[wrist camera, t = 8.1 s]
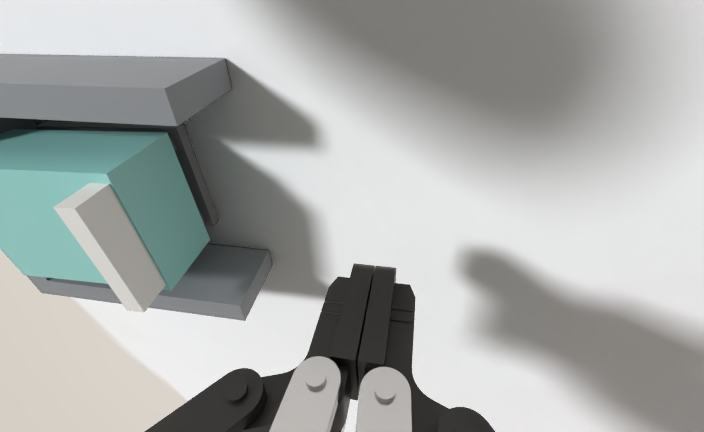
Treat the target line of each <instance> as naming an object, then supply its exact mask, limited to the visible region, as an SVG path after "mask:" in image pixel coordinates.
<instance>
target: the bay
mask: <svg viewBox="0 0 704 432" xmlns="http://www.w3.org/2000/svg"><path fill="white" fill-rule="evenodd" d="M231 89H232V87H231V83H230V78H229V74H228V70H227V65H226V61H225V58H190V57H135V56H79V55H24V54H0V134H2V133H4V132H7V131H9V130H11V129H23V130H38V129H37V127H36V126H37V124H36V122H35V121H34V119H41V120H61V121H81V122H100V123H120V124H140V125H160V126H179V125H180V124H182V123H183V122H185V121H186V120H188V119H189V118H190V117H192V116H193V115H195V114H196V113H198V112H199V111H201V110H202V109H204V108H205V107H207V106H208V105H209V104H211V103H212V102H214V101H215V100H217V99H218V98H220V97H221V96H223V95H224V94H225V93H227V92H228V91H230V90H231ZM271 267H272V261H271V257H270V252H269V250H260V249H250V248H241V247H231V246H221V245H212V244H206V246H205V247H204V248H203V250H202V251H201V252H200V254H199V255H198V256H197V258H196V259H195V260H194V262H193V263H192V264H191V266H190V267H189V268H188V270H187V271H186V272H185V274H184V275H183V276H182V278H181V279H180V280H179V282H178V283H177V284H176V285H175V287H174V288H173V289H172V291H171V290H161V292H160V293H159V294H158V295H157V297H156V298H155V299H154V301H153V302H152V303H151V304H150V306H149V308H156V309H163V310H171V311H178V312H185V313H193V314H200V315H207V316H215V317H222V318H229V319H237V320H244V321H245V320H246V318H247V316H248V314H249V312H250V310H251V308H252V306H253V303H254V301H255V299H256V297H257V295H258V293H259V291H260V289H261V287H262V285H263V283H264V281H265V279H266V277H267V275H268V273H269V271H270V269H271ZM26 276H27V277H28V278H29V279H30V280H31V281H32V283H33V284H34V285H35V286H36V287H37V288H38V289H39V290H40V292H41V293H46V294H53V295H61V296H68V297H75V298H83V299H90V300H97V301H105V302H112V303H119V304H122V303H121V301H120V300H119V298H118V297H117V296H116V294H115V293H114V291H113V290H112V289H111V287H110V286H109V284H104V283H95V282H85V281H76V280H66V279H57V278H47V277H38V276H28V275H26Z"/></svg>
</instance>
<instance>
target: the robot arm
mask: <svg viewBox="0 0 704 432" xmlns="http://www.w3.org/2000/svg"><path fill="white" fill-rule="evenodd" d="M395 281H396V268H391V267H382V266H376V267H375V266H372V265H363V264H354V265H353V268H352V272H351V276H350V278H345V277H337V279H336V280H335V281H334V282H333V283H332V284H331V285H330V287H329V289H328V292H327V295H326V298H325V302H324V304H323V308H322V312H321V314H320V317H319V320H318V323H317V326H316V330H315V333H314V336H313V339H312V342H311V345H310V349H309V352H308V354H307V356H306V358H305V359H304V361H303V362H302V363H301V364H300V365H299V366H298V367H296V368H295V369H293V370H291V371H289V372H287V373H283V374H278V375H272V376H266V377H260V375H259V374H258V373H257V372H255V371H254V370H252V369H248V368H242V369H237V370H234V371H232V372H230V373H228V374H226V375H225V376H224V377H222V378H221V379H219V380H218V381H216V382H215V383H214V384H212V385H211V386H209V387H208V388H206V389H205V390H204V391H202V392H201V393H199V394H198V395H196V396H195V397H194V398H192V399H191V400H189V401H188V402H187V403H185V404H184V405H182V406H181V407H179V408H178V409H176V410H175V411H174V412H172V413H171V414H169V415H168V416H166V417H165V418H164V419H162V420H161V421H159V422H158V423H157V424H155V425H154V426H152V427H151V428H149V429H148V430H146V431H145V432H344V429H345V424H346V418H347V413H348V408H349V402H350V399H353V400H358V396H359V402H358V412H357V423H356V432H495V431H494V430H493V428H492V427H491V426H490V424H489V423H488V422H487V421H486V420H485V418H483V417H482V416H481V415H480V414H479V413H477V412H476V411H474V410H471V409H469V408H465V407H455V408H451V409H448V408H446V407H444V406H443V405H441V404H439V403H437V402H435V401H433V400H432V399H430V398H428V397H427V396H426V395H425V394H423V393H422V392H421V390H420V389H419V388H418V387H417V385H416V383H415V381H414V379H413V375H412V351H413V332H414V312H415V296H414V293H413V291H412V289H411V287H410V285H406V284H397V283H395Z"/></svg>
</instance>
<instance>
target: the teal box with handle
mask: <svg viewBox="0 0 704 432" xmlns="http://www.w3.org/2000/svg"><path fill="white" fill-rule="evenodd" d="M36 127H37V129H38V130H23V129H11V130H9V131H7V132H4V133H2V134H0V249H1V250H2V251H3V252H4V254H5V255H6V256H7V257H8V258H9V259H10V260H11V261H12V262H13V263H14V264H15V266H16V267H17V268H18V269H19V270H20V271H21V272H22V273H23V274H24V275H28V276H38V277H47V278H57V279H66V280H76V281H85V282H95V283H104V284H109V286H110V287H111V289H112V290H113V291H114V293H115V294H116V296H117V297H118V298H119V300H120V301H121V303H122V304H123V305H124V307H125V308H126V309H127V310H129V311H138V312H145V311H146V309H147V308H148V307H149V306H150V304H151V303H152V302H153V301H154V299H155V298H156V297H157V295H158V294H159V293H160V292H161V290H171V291H172V289H173V288H174V287H175V285H176V284H177V283H178V282H179V280H180V279H181V278H182V276H183V275H184V274H185V272H186V271H187V270H188V268H189V267H190V266H191V264H192V263H193V262H194V260H195V259H196V258H197V256H198V255H199V254H200V252H201V251H202V250H203V248H204V247H205V246H206V244H207V243H208V242H209V241H210V238H209V235H208V233H207V230H206V228H205V225H209V226H214V225H215V224H216V222H217V221H218V220H219V219H218V217H217V214H216V211H215V208H214V206H213V203H212V200H211V197H210V195H209V192H208V189H207V187H206V184H205V181H204V178H203V176H202V173H201V170H200V167H199V165H198V162H197V159H196V156H195V154H194V151H193V148H192V145H191V143H190V140H189V137H188V134H187V132H186V129H185V126H184V124H180V125H179V126H160V125H140V124H120V123H100V122H44V123H41V124H39V125H37V126H36Z"/></svg>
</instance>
